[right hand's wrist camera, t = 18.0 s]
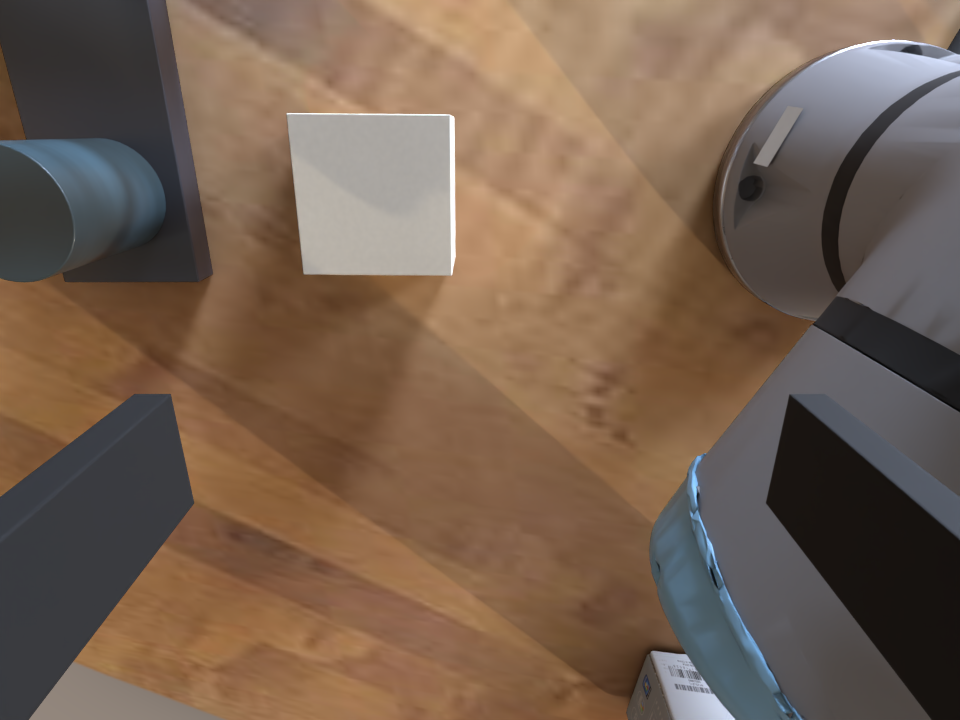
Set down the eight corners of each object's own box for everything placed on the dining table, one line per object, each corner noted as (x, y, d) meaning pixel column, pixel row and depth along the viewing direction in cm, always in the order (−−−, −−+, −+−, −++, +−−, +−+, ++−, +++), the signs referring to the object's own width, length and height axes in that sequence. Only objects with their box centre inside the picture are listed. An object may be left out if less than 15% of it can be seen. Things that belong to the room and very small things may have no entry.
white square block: (313, 115, 33) (285, 113, 28) (454, 116, 33) (450, 114, 28) (325, 255, 36) (303, 274, 31) (455, 257, 36) (451, 276, 31)
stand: (-57, -282, 27) (-345, -502, 17) (117, -283, 27) (-77, -502, 17) (85, 274, 36) (-50, 324, 27) (213, 274, 36) (121, 324, 27)
